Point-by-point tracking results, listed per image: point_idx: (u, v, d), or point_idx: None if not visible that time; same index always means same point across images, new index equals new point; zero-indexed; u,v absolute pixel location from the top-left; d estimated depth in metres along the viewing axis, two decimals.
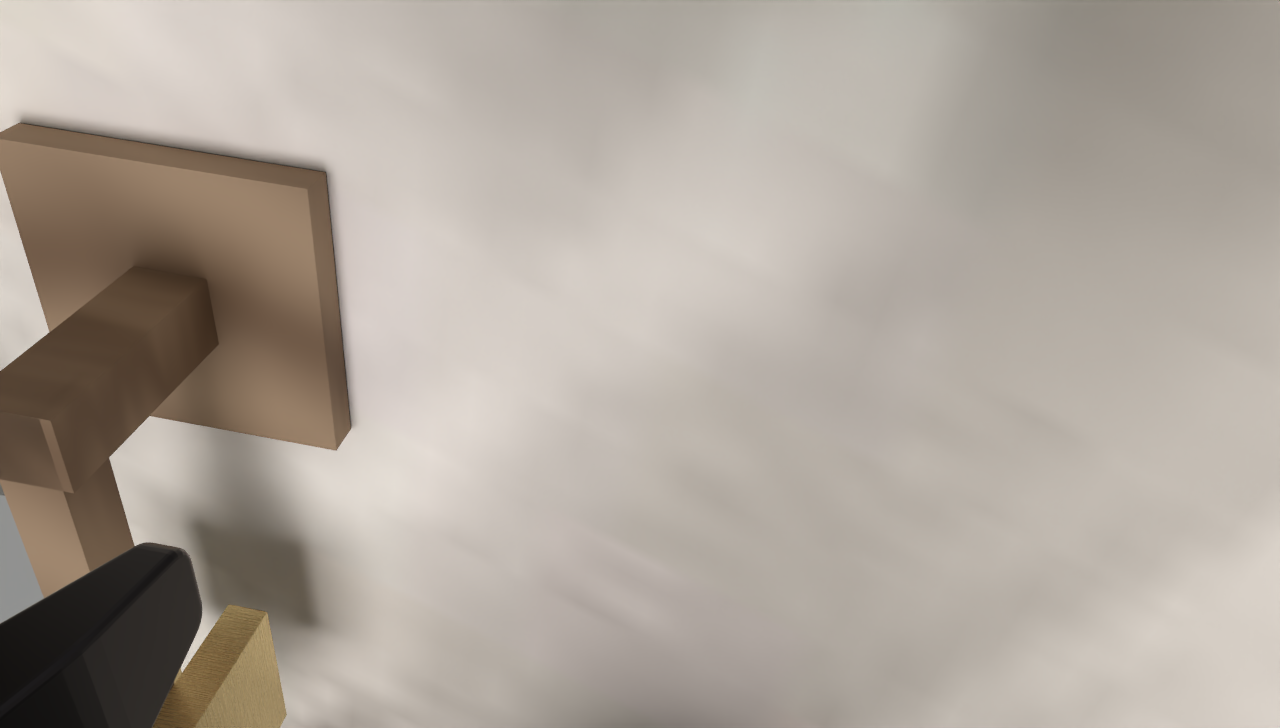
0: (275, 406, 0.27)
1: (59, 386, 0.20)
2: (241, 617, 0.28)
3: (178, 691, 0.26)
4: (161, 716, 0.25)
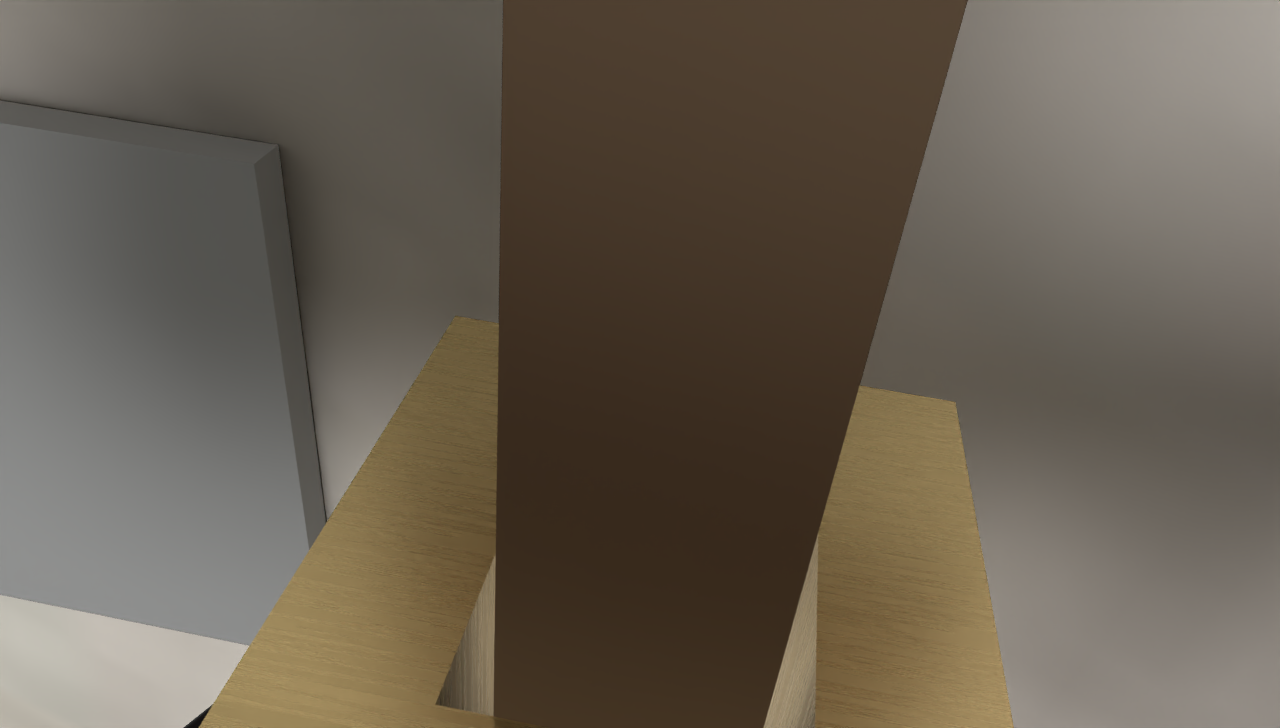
0: None
1: None
2: (888, 414, 0.08)
3: (852, 655, 0.06)
4: None
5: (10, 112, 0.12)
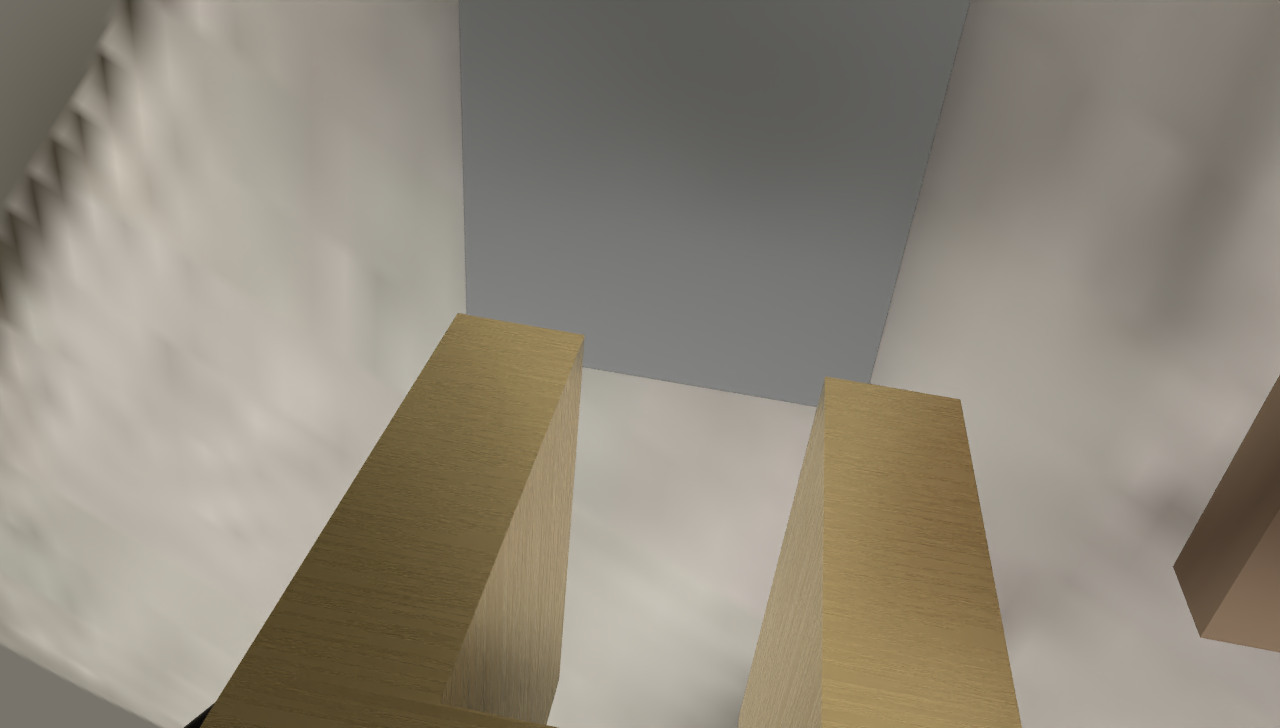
0: None
1: None
2: (893, 411, 0.08)
3: (858, 654, 0.06)
4: None
5: None
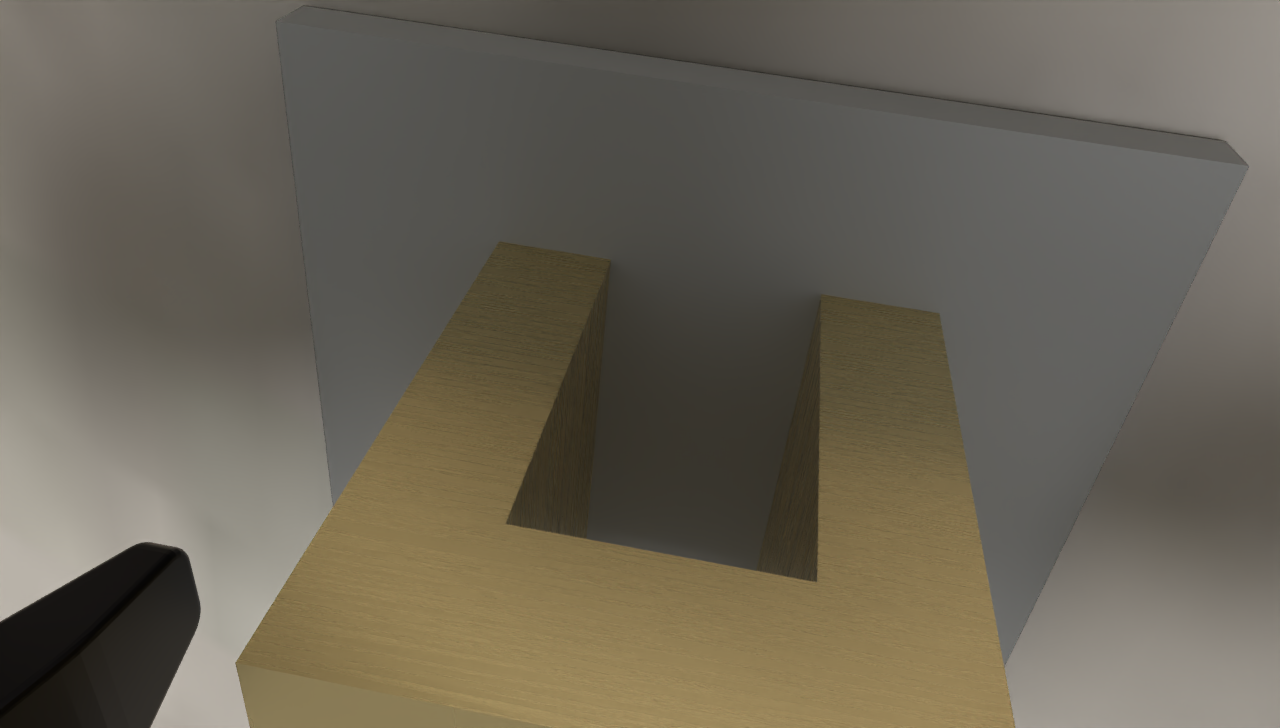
0: None
1: None
2: (881, 322, 0.10)
3: (848, 496, 0.07)
4: (847, 573, 0.07)
5: (873, 99, 0.09)
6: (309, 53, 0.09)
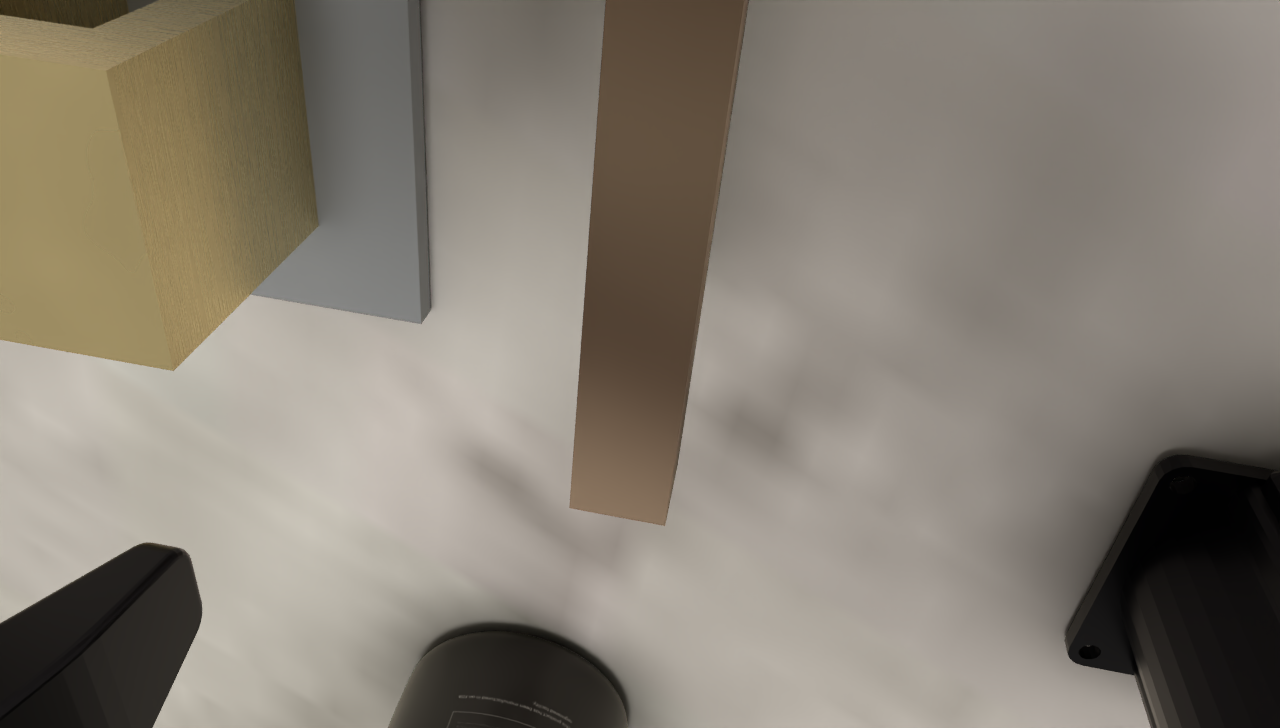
0: None
1: None
2: None
3: (143, 14, 0.15)
4: (112, 28, 0.14)
5: None
6: None
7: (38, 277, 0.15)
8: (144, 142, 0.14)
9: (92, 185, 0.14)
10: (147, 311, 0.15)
